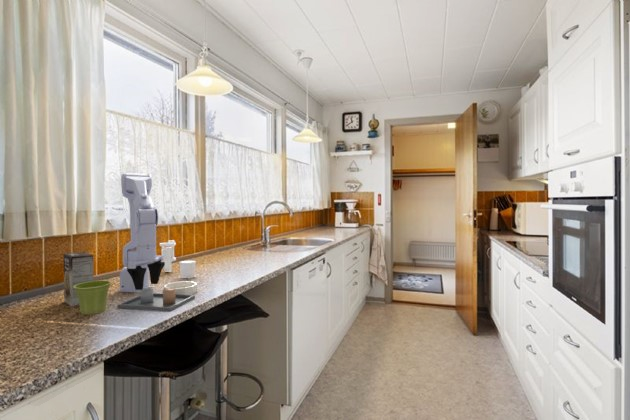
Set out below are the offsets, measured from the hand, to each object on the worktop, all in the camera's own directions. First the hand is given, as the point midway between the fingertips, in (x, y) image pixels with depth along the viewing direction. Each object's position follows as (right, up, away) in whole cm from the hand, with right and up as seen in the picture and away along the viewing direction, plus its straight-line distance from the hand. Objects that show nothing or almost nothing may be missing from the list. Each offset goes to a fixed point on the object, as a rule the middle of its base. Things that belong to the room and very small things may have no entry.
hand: (147, 286), depth 110 cm
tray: (+4, -6, -1) cm, 7 cm away
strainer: (-15, -5, +49) cm, 52 cm away
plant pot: (-12, -6, -9) cm, 16 cm away
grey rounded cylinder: (0, -5, 0) cm, 5 cm away
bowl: (+6, -5, +12) cm, 15 cm away
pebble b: (+8, -5, -1) cm, 9 cm away
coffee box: (-23, -6, +1) cm, 24 cm away
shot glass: (-1, -5, +39) cm, 39 cm away
